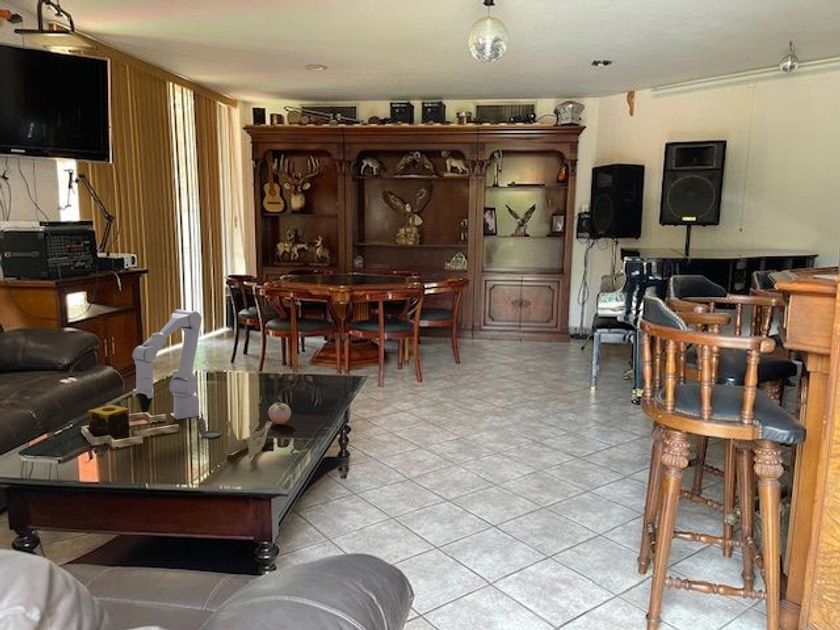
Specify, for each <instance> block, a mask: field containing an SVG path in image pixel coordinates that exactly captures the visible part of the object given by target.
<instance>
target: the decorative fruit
mask: <svg viewBox="0 0 840 630" xmlns="http://www.w3.org/2000/svg"><path fill="white" fill-rule="evenodd" d="M267 414H268V416H269V418H270V420H271V422H273V423H274V424H276V425H277V424H281V425H283V424H285V423H286V422H287V421H288V420H289V419H290V417H291V415H292V410H291V408H290V407H289V406H288V405H287V404H286V403H282V402H281V401H279V402H274V403H273V404H272V405H270V407H269V409H268V411H267Z"/></svg>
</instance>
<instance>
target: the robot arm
mask: <svg viewBox="0 0 840 630" xmlns="http://www.w3.org/2000/svg"><path fill="white" fill-rule="evenodd" d="M202 320H203V317H202V316H201V315H200V313H199V311H196V310H185V309H181V308H179V309H178V308H177V309H175V310H174V312H172V313H171V315H170V319H169V321H168V322H167V323H166V324H165V325H164V327H162V329H160V331H159V332H154V333H151V335H150V337H149V338H147V340H145V341H144V342H143V343H142V344H141V345H138V346H136V347H135V348H134V349H133V352H132V354H131V356H132V358H133V361H134V364H135V373H136V375H135V376H136V377H135V378H136V379H135V380H136V382H135V384H136V385H135V386H136V387H135V389H134V388H133V389H132V392H133V393H136V394H135V397H136V399H137V401H138V403H139V404H138V405H139V407H140V411H141V413H145V412H147V413H149V411H150V406H151V404H152V400H153V398H155V395H154V370H153V369H154V366H153V365H154V363H153V361H155V360H156V358H157V354H158V353H159V351H160V350H161V349H162V348H163V347H164V346H165V344H167V339H168V338H169V337H170V336H171V335H172V334H173V333H174V332H176V331H177V330H178V329H181V330H182V331H183V332H184V338H183V342H182V343H183V344H182V349H181V355H180V359H179V360H180V361H179V365H178V371H176V372H175V373H173V374H172V376H171V377H172V378H171V380H170V382H169V386H168V387H169V388H168V389H169V391H170V393H171V395H172V396H173V412H171V413H170V416H172V417H173V418H174V419H175V420H179V419H180V420H181V419H188V417H189V418H195V417H199V416H200V400H199V395H198V394H197V393H196V391H197V389H198V388H197V387H198V383H197V381H198V377H197V376H196V375H195V374H194V373H193V371H194V370H193V369H194V364H195V358H196V353H197V347H198V342H199V337H200V332H201V331H200V330H201V324H202Z"/></svg>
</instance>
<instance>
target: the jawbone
mask: <svg viewBox="0 0 840 630" xmlns="http://www.w3.org/2000/svg"><path fill="white" fill-rule="evenodd" d="M273 423H274V422H273V421H270V420H269V421H268V420H267V421H266V422H265V424H264V426H263V427H262V429H261V430H259V431H254V427H253V425H252V424H249V426H248V429H249V430H250V432H251V433H250V436H246V437H244V438H240V439H238V437H237V435H236V433H235V430H234V428H233V426H232V422H231V420H228V421H226V423H225V424H226V426H227V427H228V429H229V433H226V435H227V436H228V444H227V448H226V451H225V456H226V457H227V455H229V454H232V453H234V452H236V451H239V450H242V449H244V448H246V447H248V446H249V447H248V456H247V457H248V459H249V460H250V459H251V458H252V457H253V456H254V455H255V454H256V453H257V452H258V451H259V450H260V449H261V448H262V447H263V448H264V446H265V443H266V439H267V435H268V432H269V430H270V428H271V426H272V425H273ZM261 435H262V436H261ZM259 437H260V438H259ZM263 448H262V449H263ZM246 449H247V448H246ZM262 449H261V450H262ZM257 454H258V453H257ZM257 454H256V455H257ZM232 455H233V454H232ZM256 455H255V456H256ZM255 456H254V457H255Z"/></svg>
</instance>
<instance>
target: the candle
mask: <svg viewBox="0 0 840 630" xmlns="http://www.w3.org/2000/svg"><path fill="white" fill-rule="evenodd" d="M87 412H88V425H89V427H88V431H89V432H90V433H91V434H92V435H93V436H94V438H95V437H102V436H108V435H110V436H111V437H112V438H113V439H114V438H116V439H118V438H121V436H122V437H124V436H127V435H129V434H130V430H131V429H130V427H131V426H129V414H130V408H128V407H125V406H118V405H115V404H114V405H113V404H109V405H105V406H101V407H97V408H94V409H88V411H87ZM114 440H115V439H114Z"/></svg>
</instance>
